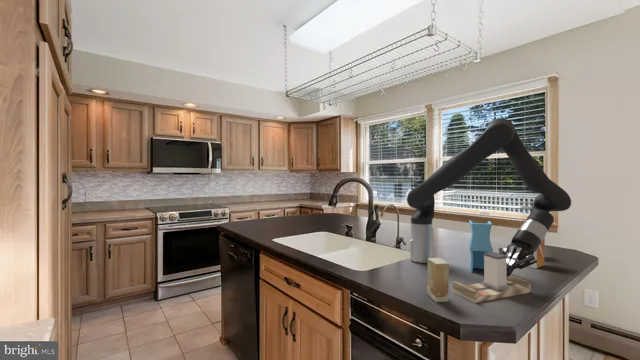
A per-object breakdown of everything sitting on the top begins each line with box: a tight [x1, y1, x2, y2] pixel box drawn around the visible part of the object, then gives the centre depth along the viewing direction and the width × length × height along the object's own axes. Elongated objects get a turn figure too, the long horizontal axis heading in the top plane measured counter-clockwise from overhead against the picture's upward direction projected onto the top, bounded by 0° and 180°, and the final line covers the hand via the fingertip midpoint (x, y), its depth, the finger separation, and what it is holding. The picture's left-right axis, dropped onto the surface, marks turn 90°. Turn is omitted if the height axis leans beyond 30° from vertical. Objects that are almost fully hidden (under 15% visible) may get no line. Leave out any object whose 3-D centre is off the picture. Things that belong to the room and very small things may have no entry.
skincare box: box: [426, 257, 450, 303], centre depth 93 cm, size 6×4×12 cm
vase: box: [468, 219, 494, 273], centre depth 118 cm, size 8×8×20 cm
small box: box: [521, 237, 546, 269], centre depth 125 cm, size 8×6×13 cm
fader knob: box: [481, 251, 509, 290], centre depth 98 cm, size 5×6×11 cm
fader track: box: [452, 274, 532, 304], centre depth 97 cm, size 24×9×4 cm, turn 108°
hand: (503, 274), depth 97 cm, fingers closed
